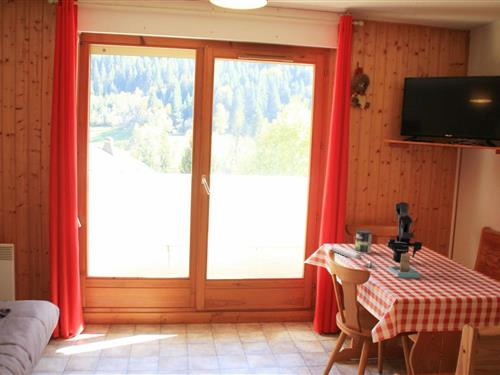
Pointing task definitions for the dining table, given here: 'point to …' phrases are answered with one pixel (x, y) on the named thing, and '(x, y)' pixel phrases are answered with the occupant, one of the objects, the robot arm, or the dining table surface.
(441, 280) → the dining table surface
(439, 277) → the dining table surface
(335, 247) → the tube
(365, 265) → the stud mount
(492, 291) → the dining table surface
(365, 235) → the coffee can
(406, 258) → the strut
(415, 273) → the teal flat square frame
